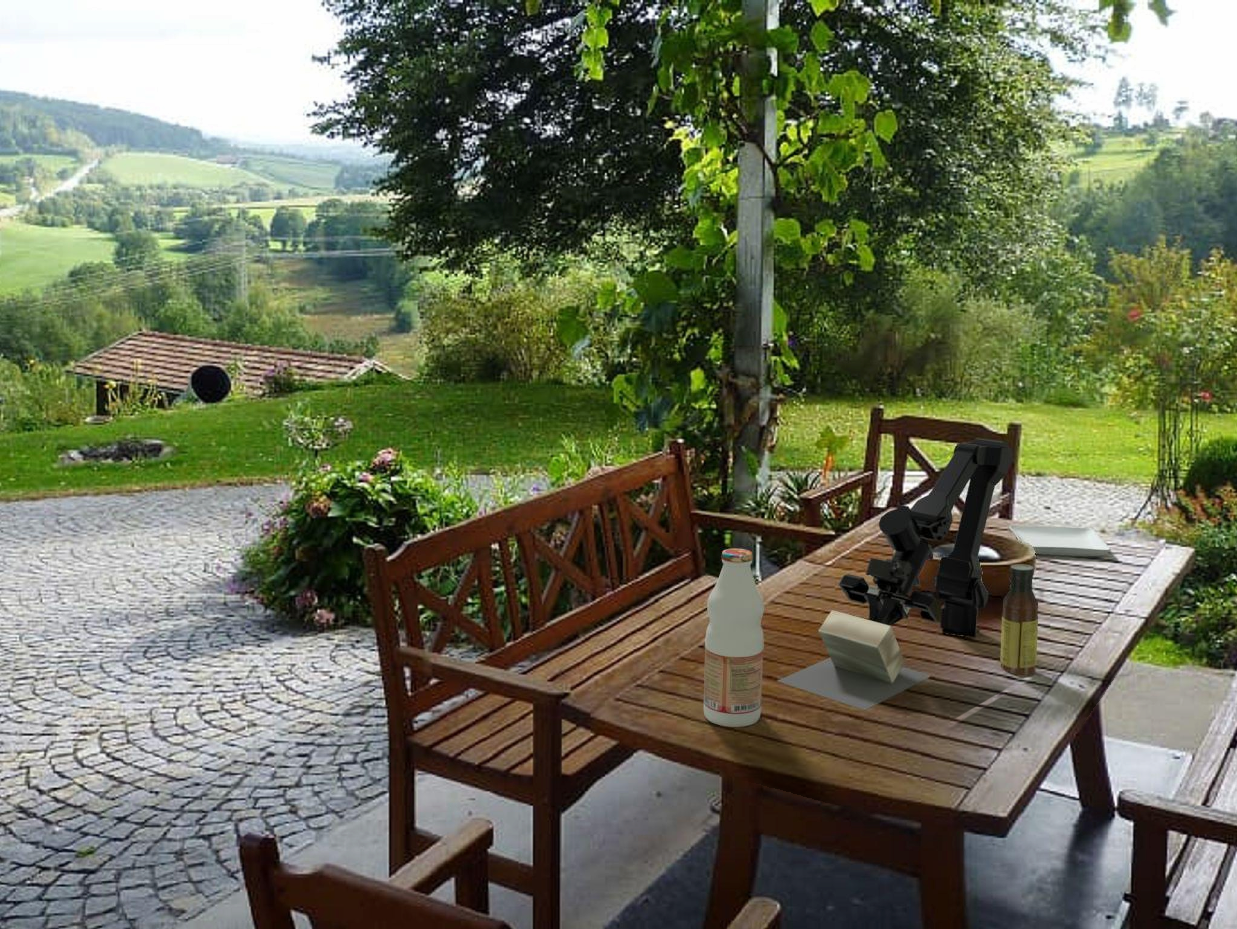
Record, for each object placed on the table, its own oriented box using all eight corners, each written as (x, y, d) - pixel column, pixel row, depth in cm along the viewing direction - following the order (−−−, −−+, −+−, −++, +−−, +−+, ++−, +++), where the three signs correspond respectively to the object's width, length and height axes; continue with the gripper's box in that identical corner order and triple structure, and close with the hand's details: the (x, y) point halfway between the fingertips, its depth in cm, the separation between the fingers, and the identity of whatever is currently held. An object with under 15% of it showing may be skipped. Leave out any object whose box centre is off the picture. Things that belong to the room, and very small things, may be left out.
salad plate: (1021, 557, 290) (1022, 544, 290) (1007, 536, 311) (1008, 523, 310) (1111, 562, 287) (1112, 548, 286) (1091, 540, 307) (1092, 527, 307)
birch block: (847, 645, 216) (832, 610, 210) (905, 662, 208) (890, 626, 202) (834, 666, 213) (818, 630, 208) (892, 683, 205) (877, 647, 200)
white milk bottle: (693, 720, 190) (698, 554, 185) (717, 701, 198) (721, 541, 193) (747, 733, 186) (753, 563, 180) (769, 712, 194) (775, 549, 189)
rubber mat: (846, 653, 222) (846, 650, 222) (931, 678, 209) (932, 675, 209) (776, 684, 206) (776, 680, 206) (864, 713, 194) (864, 710, 194)
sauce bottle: (1035, 667, 215) (1044, 563, 211) (1035, 679, 210) (1044, 573, 206) (998, 663, 217) (1006, 560, 213) (997, 675, 212) (1005, 569, 208)
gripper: (847, 531, 216) (809, 601, 210) (938, 551, 203) (901, 626, 198) (867, 564, 223) (832, 633, 218) (957, 585, 211) (922, 658, 205)
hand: (869, 636), depth 209 cm, fingers closed
